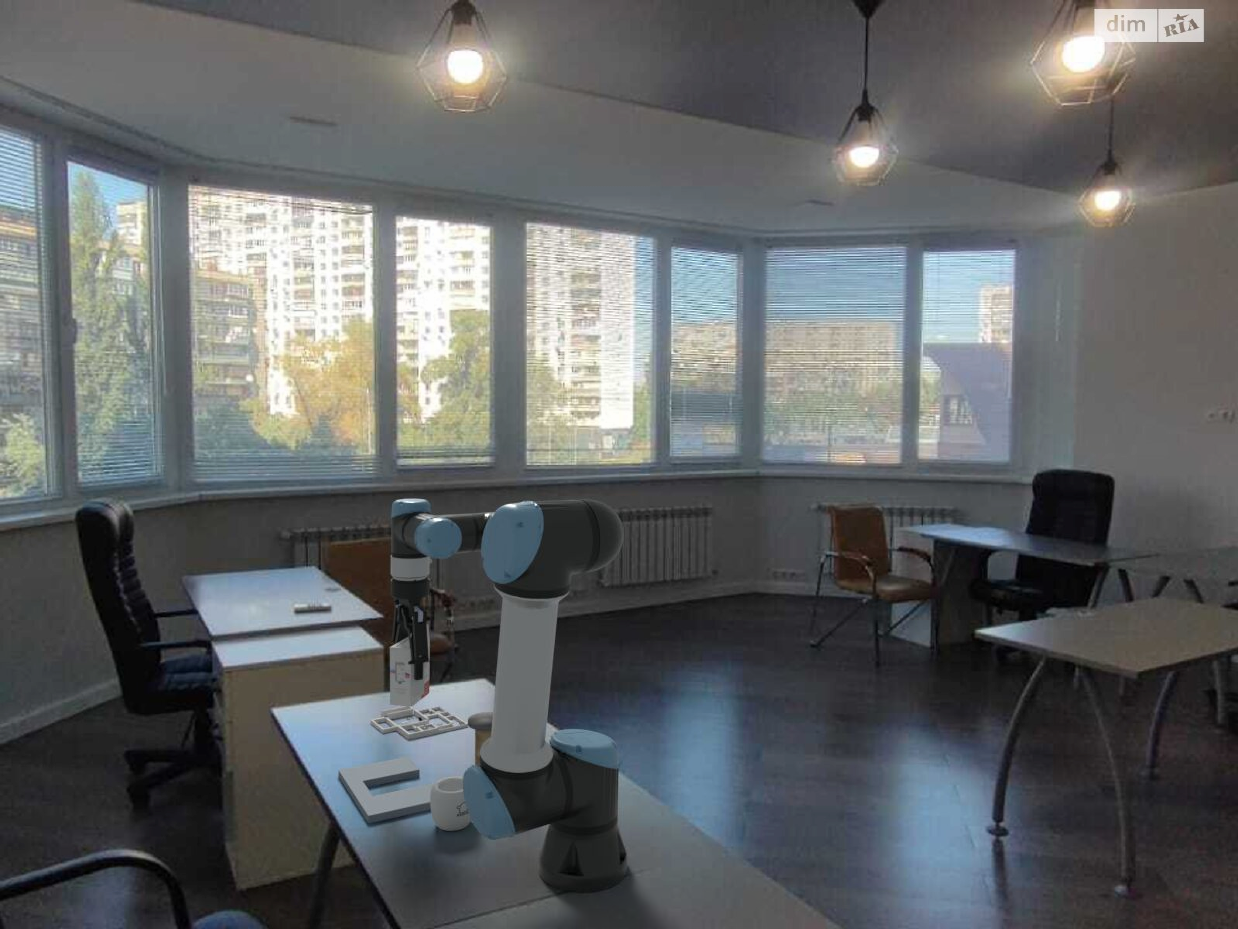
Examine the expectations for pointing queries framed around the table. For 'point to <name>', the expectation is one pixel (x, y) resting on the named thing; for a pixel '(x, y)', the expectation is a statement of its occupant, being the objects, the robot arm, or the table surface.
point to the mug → (449, 804)
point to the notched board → (389, 802)
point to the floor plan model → (417, 726)
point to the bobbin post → (480, 730)
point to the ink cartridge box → (405, 674)
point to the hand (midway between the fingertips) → (409, 687)
